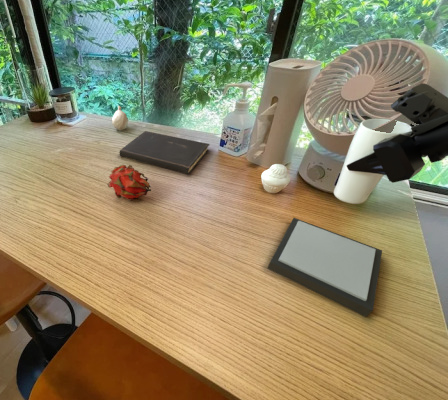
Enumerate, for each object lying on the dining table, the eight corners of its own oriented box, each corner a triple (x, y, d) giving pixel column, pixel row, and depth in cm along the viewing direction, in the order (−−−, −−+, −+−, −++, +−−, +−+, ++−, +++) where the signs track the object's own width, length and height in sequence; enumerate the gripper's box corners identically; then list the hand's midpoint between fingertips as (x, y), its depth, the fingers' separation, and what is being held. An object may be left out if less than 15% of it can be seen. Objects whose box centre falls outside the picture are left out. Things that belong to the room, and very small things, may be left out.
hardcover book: (145, 136, 90) (145, 130, 89) (208, 150, 79) (209, 143, 78) (119, 157, 80) (119, 150, 79) (187, 175, 70) (188, 168, 68)
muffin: (258, 180, 66) (266, 156, 61) (285, 184, 63) (295, 160, 59) (256, 194, 61) (264, 169, 57) (285, 199, 59) (295, 174, 55)
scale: (376, 257, 45) (384, 248, 44) (365, 317, 38) (374, 308, 36) (290, 224, 53) (294, 215, 52) (267, 268, 45) (270, 259, 44)
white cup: (333, 205, 50) (368, 133, 41) (324, 186, 55) (354, 118, 46) (376, 209, 48) (423, 134, 39) (362, 189, 53) (402, 118, 44)
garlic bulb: (132, 126, 98) (130, 105, 93) (123, 133, 94) (121, 111, 89) (117, 124, 101) (115, 104, 96) (108, 130, 97) (106, 109, 92)
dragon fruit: (111, 189, 70) (148, 209, 65) (94, 189, 62) (134, 211, 57) (123, 160, 68) (162, 178, 63) (107, 156, 60) (150, 176, 56)
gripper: (489, 56, 37) (363, 111, 51) (434, 82, 30) (308, 137, 45) (527, 124, 36) (389, 161, 51) (480, 166, 30) (337, 194, 44)
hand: (357, 161), depth 48 cm, fingers closed on white cup, 6 cm apart
